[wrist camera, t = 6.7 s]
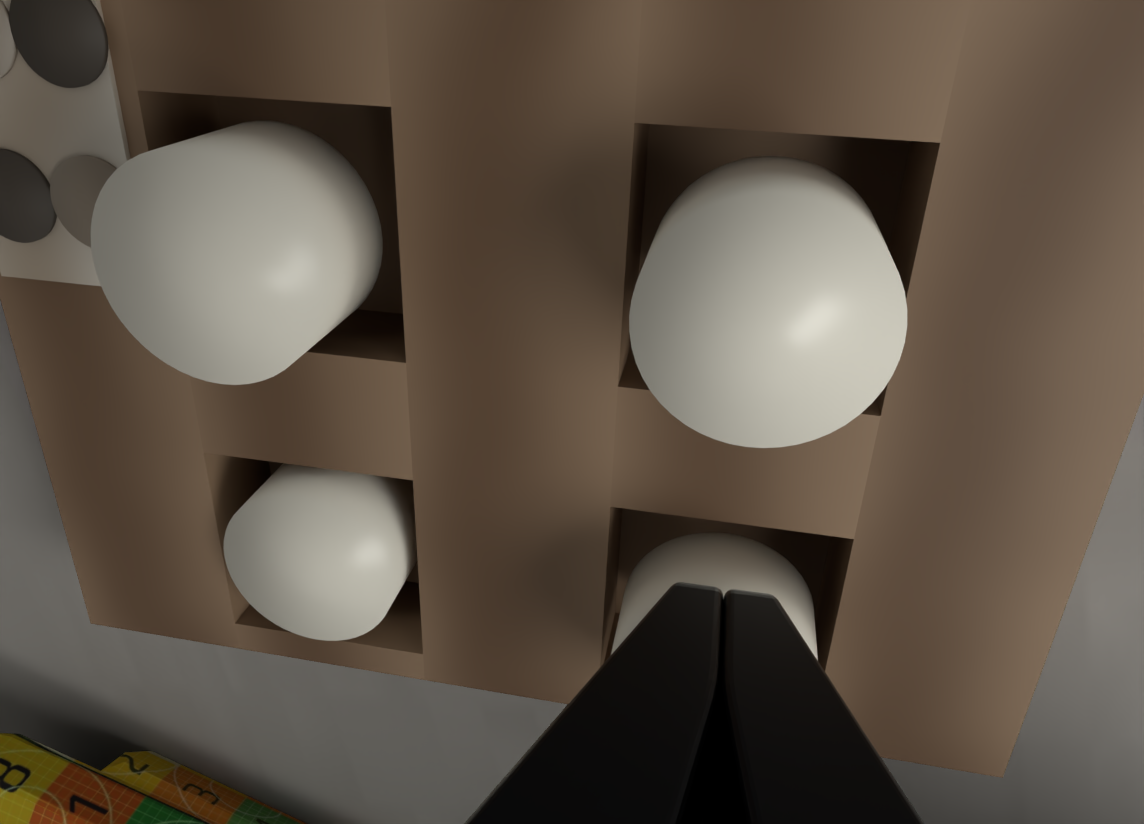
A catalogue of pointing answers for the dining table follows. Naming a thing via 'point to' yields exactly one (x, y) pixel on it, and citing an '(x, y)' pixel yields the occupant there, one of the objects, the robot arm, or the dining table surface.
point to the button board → (609, 322)
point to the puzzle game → (116, 791)
